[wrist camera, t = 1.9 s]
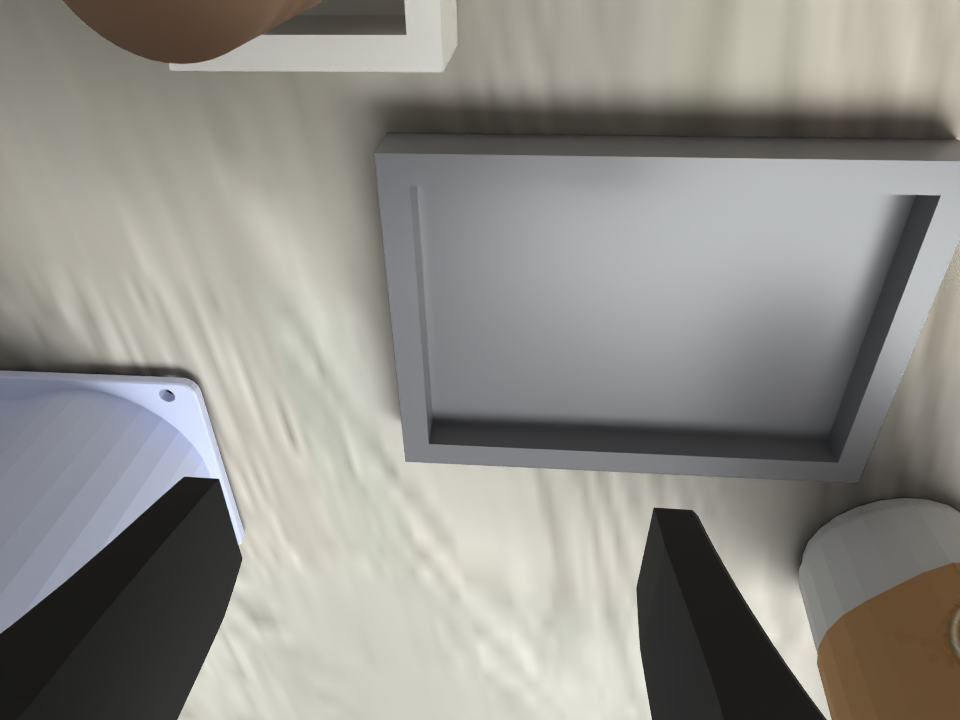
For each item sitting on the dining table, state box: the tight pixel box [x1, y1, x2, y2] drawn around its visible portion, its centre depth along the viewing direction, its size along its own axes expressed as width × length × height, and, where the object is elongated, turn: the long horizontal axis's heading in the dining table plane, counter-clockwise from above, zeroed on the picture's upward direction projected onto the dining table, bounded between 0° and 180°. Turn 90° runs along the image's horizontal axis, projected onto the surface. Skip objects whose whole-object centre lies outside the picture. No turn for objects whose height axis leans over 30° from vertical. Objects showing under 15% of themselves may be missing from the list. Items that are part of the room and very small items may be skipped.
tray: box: [374, 133, 960, 483], centre depth 20 cm, size 14×10×2 cm
